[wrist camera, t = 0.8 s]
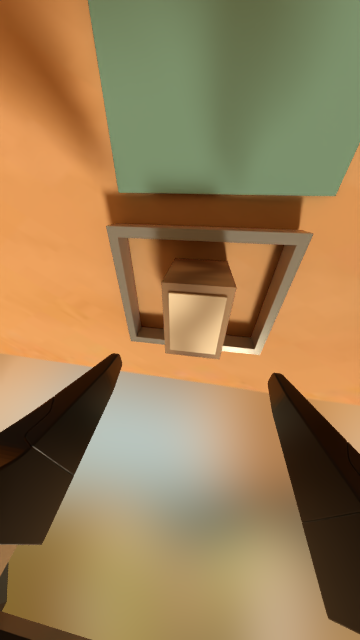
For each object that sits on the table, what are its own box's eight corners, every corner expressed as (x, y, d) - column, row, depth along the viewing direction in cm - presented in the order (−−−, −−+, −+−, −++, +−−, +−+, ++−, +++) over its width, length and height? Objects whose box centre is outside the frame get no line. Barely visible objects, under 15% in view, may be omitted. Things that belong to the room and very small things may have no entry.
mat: (520, -224, 5) (539, -251, 5) (331, 196, 12) (335, 195, 11) (70, -136, 7) (63, -152, 7) (120, 192, 13) (118, 192, 13)
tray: (300, 229, 13) (313, 233, 12) (255, 343, 21) (259, 354, 19) (117, 223, 15) (106, 225, 13) (136, 330, 22) (130, 340, 21)
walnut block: (227, 261, 15) (236, 288, 11) (216, 320, 20) (219, 360, 15) (175, 258, 16) (161, 283, 11) (175, 316, 20) (165, 354, 15)
